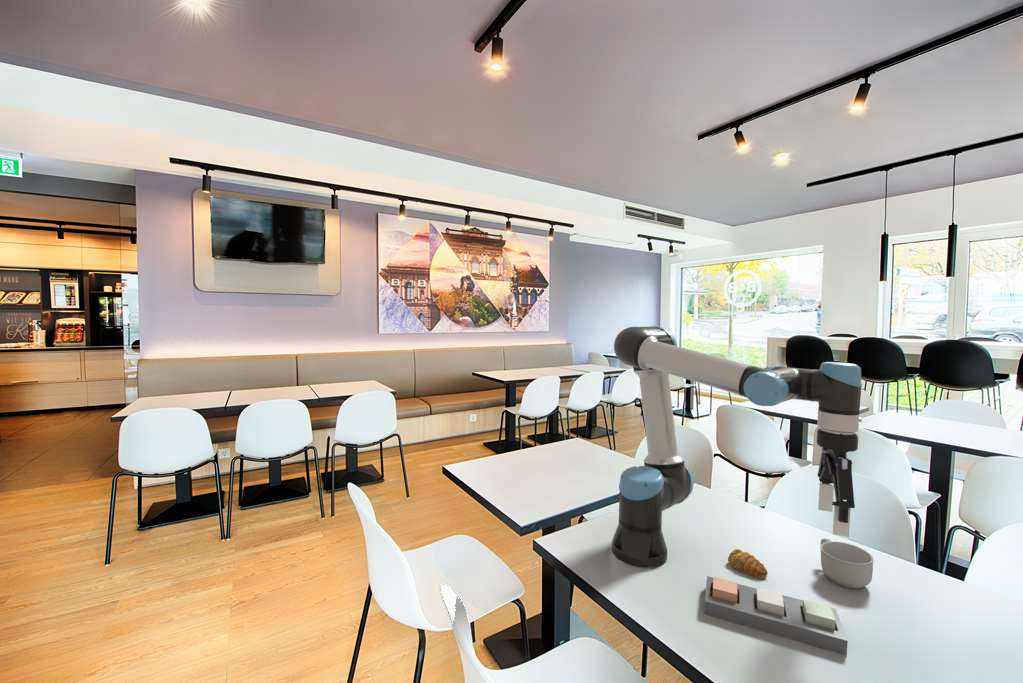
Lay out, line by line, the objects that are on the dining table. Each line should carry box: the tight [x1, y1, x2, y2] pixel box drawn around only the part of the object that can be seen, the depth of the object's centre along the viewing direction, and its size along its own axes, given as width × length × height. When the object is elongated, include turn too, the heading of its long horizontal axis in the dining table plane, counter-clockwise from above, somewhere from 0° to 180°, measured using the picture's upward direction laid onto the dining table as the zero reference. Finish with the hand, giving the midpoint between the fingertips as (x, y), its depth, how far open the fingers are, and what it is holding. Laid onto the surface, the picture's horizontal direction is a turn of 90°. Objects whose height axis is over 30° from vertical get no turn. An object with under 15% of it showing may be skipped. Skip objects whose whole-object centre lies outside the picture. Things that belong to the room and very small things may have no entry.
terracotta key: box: [713, 576, 738, 603], centre depth 102 cm, size 5×5×2 cm
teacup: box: [819, 537, 875, 590], centre depth 113 cm, size 14×11×8 cm
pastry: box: [727, 548, 769, 579], centre depth 117 cm, size 9×7×4 cm
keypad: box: [703, 575, 848, 656], centre depth 98 cm, size 26×11×3 cm, turn 63°
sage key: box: [803, 599, 836, 630], centre depth 93 cm, size 5×5×2 cm
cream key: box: [756, 587, 784, 616], centre depth 98 cm, size 5×5×2 cm
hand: (832, 522), depth 100 cm, fingers open, 13 cm apart
